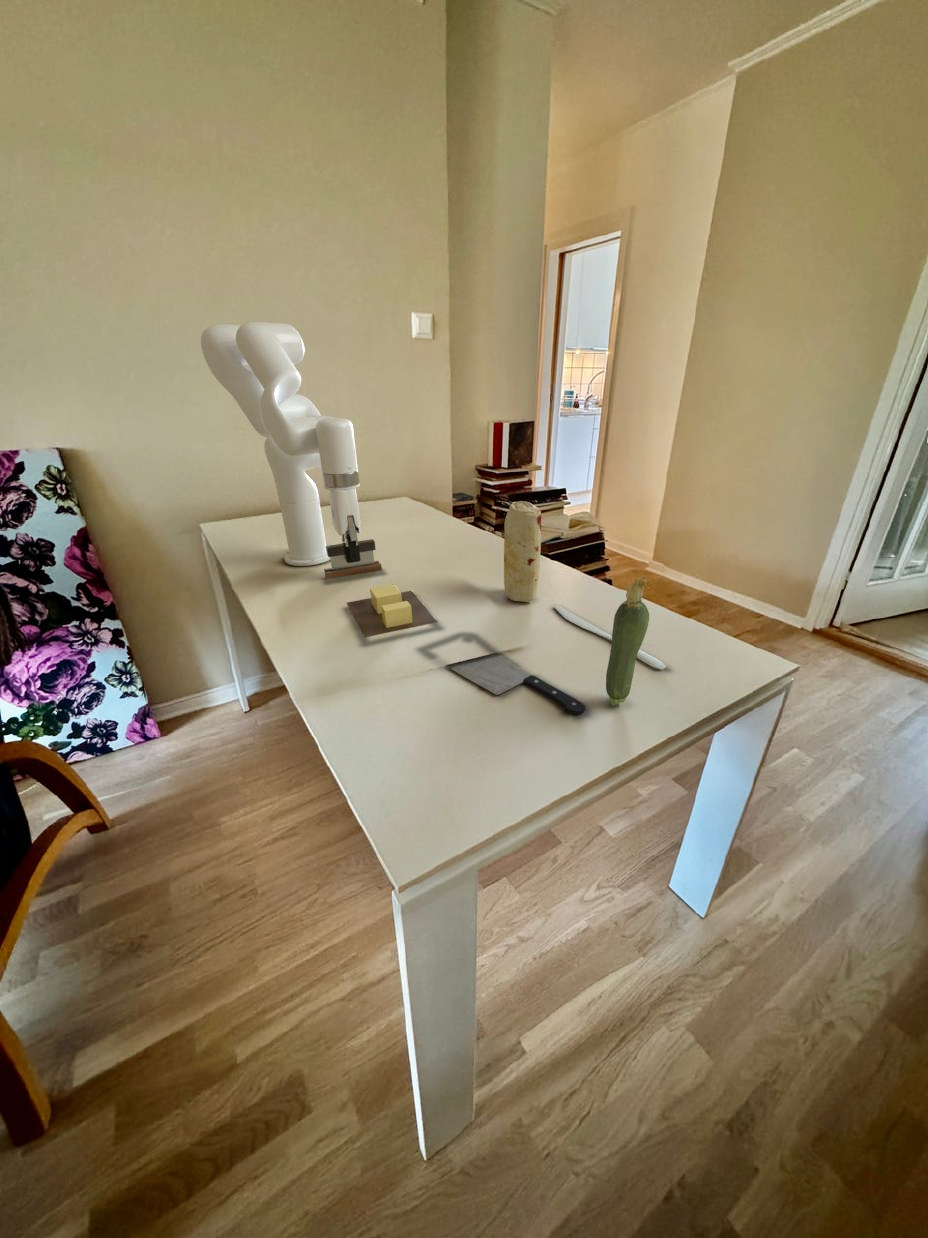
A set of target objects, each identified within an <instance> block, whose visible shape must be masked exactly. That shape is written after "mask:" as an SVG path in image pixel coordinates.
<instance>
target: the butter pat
mask: <svg viewBox="0 0 928 1238" xmlns="http://www.w3.org/2000/svg"><path fill="white" fill-rule="evenodd" d="M381 608H382V617H383V623H384V625H385V626H386V628H389V627H394V626H399V625H404V624H408V623H412V611H411V605H410V604H409V603H408V601H404V602H398V603H393V604H388V605H383V606H381Z"/></svg>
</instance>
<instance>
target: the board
mask: <svg viewBox="0 0 928 1238" xmlns="http://www.w3.org/2000/svg"><path fill="white" fill-rule="evenodd" d="M400 593H401V599H402V602H404V601H408V603H409V604H410V605H411V611H412V623H408V624H404V625H399V626H394V627H389V628H386V626H385V625H384V623H383V617H382V613H380V614H378V613H377V612H376V610H375V608H374V607H373V605H372V602H371V597H370V598H364V599H358V600H352V601H348V602H346V605H347V606H348V608H349V611H350V612H351V614H352V616H353V618H354V621H355V622H356V624H357V626H358V628H359V630H360V632H361V634H362V636H363V637H364V638H370V637H373V636H379V635H383V634H389V633H392V632H398V631H403V630H407V629H412V628H416V627H421V626H426V625H430V624H435V623H438V620H437V619H436V617H435V616H434V615H433V614H432V613H431V612H430V611H429V609H428V608H427V606H426V605H424V603H423V602H422V600H420V599H419V597H418V596H417V595H416V594H415V593H414V591H413V590H407V591H402V592H401V591H400Z"/></svg>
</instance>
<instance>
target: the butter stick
mask: <svg viewBox="0 0 928 1238" xmlns="http://www.w3.org/2000/svg"><path fill="white" fill-rule="evenodd" d="M369 592H370V598H371V602H372V605H373V607H374V608H375V610H376V612H377V613H378V614H380V613H382V608H381V606H383V605H388V604H393V603H398V602H402V599H401V591H400V590H399V589H398V587H397V586H396V585H395V584H394V583H393V584H386V585H382V586H376V587H371V588H369Z"/></svg>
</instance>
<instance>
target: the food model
mask: <svg viewBox="0 0 928 1238" xmlns="http://www.w3.org/2000/svg"><path fill="white" fill-rule="evenodd" d="M503 537H504V538H503V539H504V540H503V541H504V543H503V585H504V592H505V594H506V595H505V596H506V597H508V599H509V600H511V601H513V602H525V603H530V602H533V601H534V600H535V599H536V597H537V592H538V586H539V578H540V567H541V566H540V565H541V548H542V511H541V510H540V508H539V507H538V506H536V505H534V504H532V503H531V502H529V501H526V500H520V501H519V500H518V501H515V502H512V503H511V504H509V508H508V511H507V513H506V515H505V519H504V536H503Z"/></svg>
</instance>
